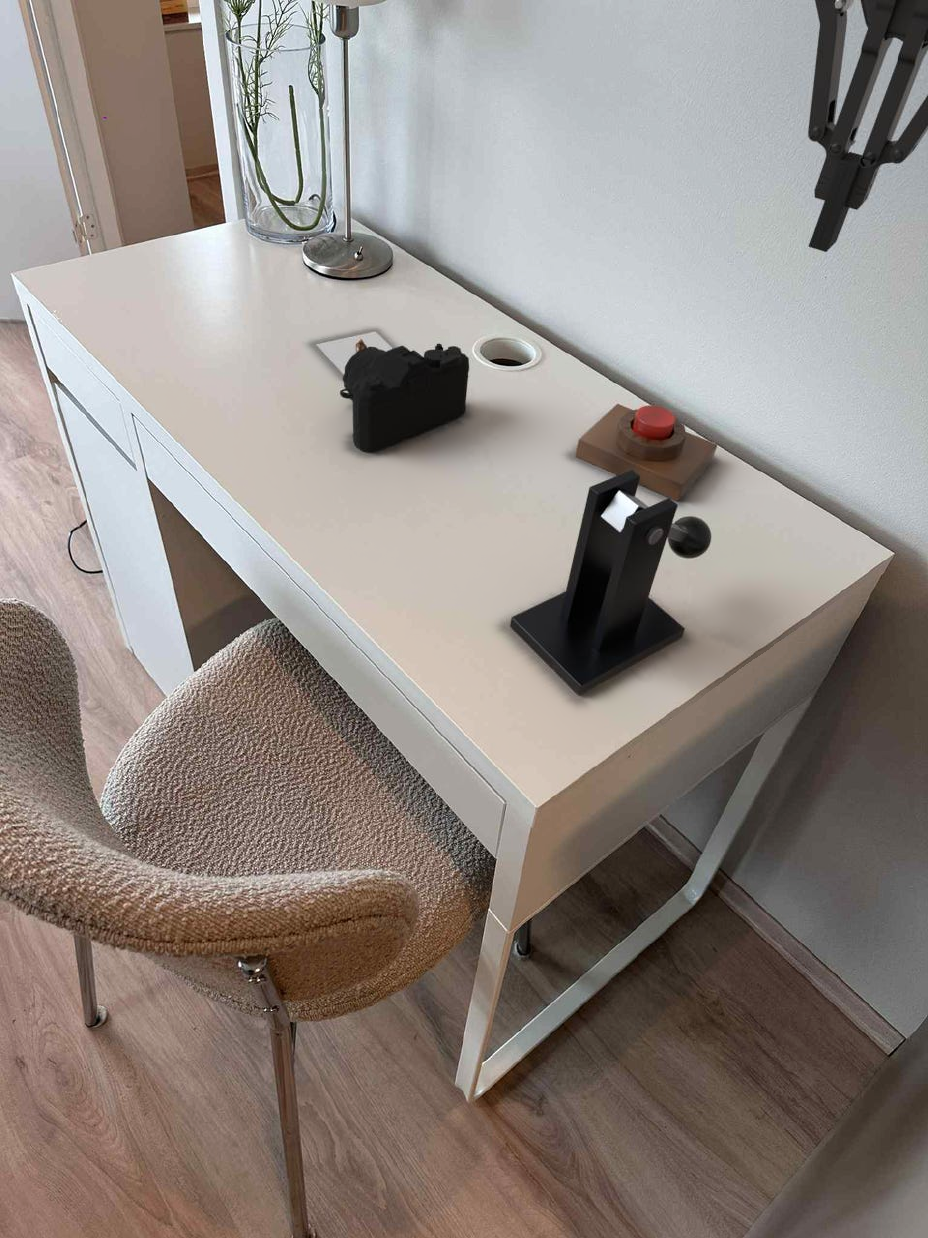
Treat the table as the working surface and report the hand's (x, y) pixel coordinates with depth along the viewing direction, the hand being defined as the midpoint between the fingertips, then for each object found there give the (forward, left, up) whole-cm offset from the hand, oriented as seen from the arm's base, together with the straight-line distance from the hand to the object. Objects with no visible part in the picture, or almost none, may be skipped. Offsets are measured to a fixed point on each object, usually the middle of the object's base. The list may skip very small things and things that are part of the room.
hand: (822, 243), depth 72 cm
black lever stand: (+2, +25, -26) cm, 36 cm away
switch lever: (+1, +22, -18) cm, 28 cm away
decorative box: (+46, +2, -27) cm, 53 cm away
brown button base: (+10, -1, -26) cm, 28 cm away
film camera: (+35, +10, -27) cm, 45 cm away
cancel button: (+10, -1, -23) cm, 25 cm away
